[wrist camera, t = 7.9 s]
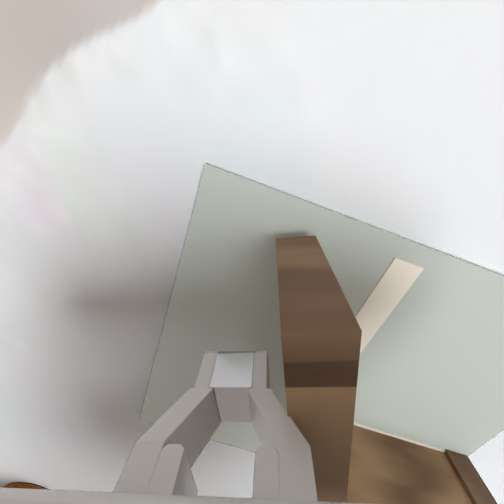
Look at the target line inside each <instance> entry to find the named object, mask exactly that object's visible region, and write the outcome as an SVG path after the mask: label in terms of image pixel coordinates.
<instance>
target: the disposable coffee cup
mask: <svg viewBox="0 0 504 504" xmlns="http://www.w3.org/2000/svg"><path fill="white" fill-rule="evenodd" d="M5 488H23V489H44V488H41V487H38V486H35V485H31V484H27V483H12V484H9V485H7V486H6V487H5Z"/></svg>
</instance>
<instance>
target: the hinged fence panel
mask: <svg viewBox="0 0 504 504" xmlns="http://www.w3.org/2000/svg"><path fill="white" fill-rule="evenodd" d="M276 254H277V272H278V290H279V308H280V326H281V341H282V354H283V367H284V379H285V392H286V405H287V416H290V417H291V418H292V420H293V421H294V423H295V424H296V426H297V427H298V429H299V430H300V432H301V433H302V435H303V436H304V438H305V439H306V441H307V442H308V444H309V445H310V448H311V455H312V462H313V470H314V477H315V484H316V492H317V499H318V501H321V502H344V503H346V501H347V490H348V479H349V468H350V457H351V446H352V435H353V424H354V413H355V402H356V391H357V380H358V368H359V357H360V346H361V335H362V330H361V328H360V326H359V324H358V322H357V320H356V318H355V316H354V314H353V312H352V310H351V308H350V306H349V303H348V301H347V299H346V297H345V295H344V293H343V291H342V289H341V287H340V285H339V283H338V281H337V279H336V277H335V275H334V273H333V270H332V268H331V266H330V264H329V262H328V260H327V258H326V256H325V254H324V252H323V250H322V248H321V246H320V244H319V242H318V240H317V238H316V235H313V236H300V237H287V238H276Z"/></svg>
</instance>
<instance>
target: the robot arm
mask: <svg viewBox="0 0 504 504" xmlns="http://www.w3.org/2000/svg"><path fill="white" fill-rule="evenodd" d="M220 422H252V425H253V427H254V430H255V432H256V434H257V436H258V438H259V440H260V443H261V445H262V446H259V447H258V448H257V450H256V451H255V464H254V481H253V498H230V497H207V496H197V492H198V491H197V488H196V485H195V482H194V478H193V475H192V472H191V469H190V468H191V466H192V465H193V463H194V462H195V460H196V459H197V457H198V456H199V454H200V453H201V451H202V450H203V449H204V447H205V446H206V444H207V443H208V441H209V440H210V438H211V437H212V435H213V434H214V432H215V431H216V429H217V428H218V426H219V425H220ZM0 504H366V503H344V502H321V501H318V499H317V492H316V484H315V477H314V470H313V462H312V455H311V448H310V445H309V444H308V442H307V441H306V439H305V438H304V436H303V435H302V433H301V432H300V430H299V429H298V427H297V426H296V424H295V423H294V421H293V420H292V418H291V417H290V416H287V411H286V409H285V408H284V406H283V405H282V403H281V402H280V400H279V399H278V397H277V396H276V395H275V393H274V392H273V390H272V389H271V388H270V376H269V360H268V351H207V352H206V353H205V354H204V357H203V361H202V364H201V367H200V371H199V374H198V377H197V380H196V384H195V387H194V388H190V389H189V390H188V391H187V392H186V393H185V394H184V395H183V396H182V397H181V398H180V399H179V400H178V401H177V402H176V403H175V404H174V405H173V406H172V407H171V408H169V409H168V410H167V411H166V412H165V413H164V414H163V415H162V416H161V417H160V418H159V419H158V420H157V421H156V422H155V423H154V424H153V425H152V426H151V427H150V428H149V429H148V430H147V431H146V432H145V433H144V434H143V435H142V436H141V437H140V438H139V439H138V440H137V441H136V442H135V444H134V447H133V449H132V451H131V453H130V456H129V458H128V460H127V462H126V464H125V467H124V469H123V471H122V473H121V476H120V478H119V480H118V482H117V485H116V487H115V489H114V491H113V492H92V491H69V490H46V489H23V488H1V487H0Z"/></svg>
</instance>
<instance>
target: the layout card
mask: <svg viewBox="0 0 504 504" xmlns="http://www.w3.org/2000/svg"><path fill="white" fill-rule="evenodd" d="M313 235H316V238H317V240H318V242H319V244H320V246H321V248H322V250H323V252H324V254H325V256H326V258H327V260H328V262H329V264H330V266H331V268H332V270H333V273H334V275H335V277H336V279H337V281H338V283H339V285H340V287H341V289H342V291H343V293H344V295H345V297H346V299H347V301H348V303H349V306H350V308H351V310H352V312H353V314H354V316H355V318H356V320H357V322H358V324H359V326H360V328H361V330H362V335H361V346H360V357H359V368H358V380H357V391H356V402H355V413H354V424H353V425H356V426H359V427H362V428H365V429H369V430H372V431H375V432H379V433H382V434H385V435H388V436H392V437H395V438H398V439H401V440H405V441H408V442H411V443H415V444H418V445H421V446H424V447H428V448H431V449H434V450H438V451H441V452H445V449H447V450H450V451H454V452H457V453H460V454H464V455H467V456H469V455H470V454H471V453H473V452H474V451H475V450H477V449H478V448H480V447H481V446H482V445H484V444H485V443H486V442H488V441H489V440H490V439H492V438H493V437H494V436H496V435H497V434H498V433H500V432H501V431H502V430H504V275H502V274H499V273H496V272H494V271H491V270H488V269H486V268H483V267H480V266H478V265H475V264H473V263H470V262H467V261H465V260H462V259H459V258H457V257H454V256H451V255H449V254H446V253H443V252H441V251H438V250H435V249H433V248H430V247H428V246H425V245H422V244H420V243H417V242H414V241H412V240H409V239H406V238H404V237H401V236H398V235H396V234H393V233H390V232H388V231H385V230H382V229H380V228H377V227H375V226H372V225H369V224H367V223H364V222H361V221H359V220H356V219H353V218H351V217H348V216H345V215H343V214H340V213H337V212H335V211H332V210H329V209H327V208H324V207H322V206H319V205H316V204H314V203H311V202H308V201H306V200H303V199H300V198H298V197H295V196H292V195H290V194H287V193H284V192H282V191H279V190H277V189H274V188H271V187H269V186H266V185H263V184H261V183H258V182H255V181H253V180H250V179H247V178H245V177H242V176H239V175H237V174H234V173H231V172H229V171H226V170H224V169H221V168H218V167H216V166H213V165H210V164H208V163H206V164H205V166H204V169H203V173H202V177H201V181H200V185H199V189H198V193H197V197H196V201H195V204H194V208H193V212H192V216H191V220H190V224H189V228H188V232H187V235H186V239H185V243H184V247H183V251H182V255H181V259H180V263H179V267H178V270H177V274H176V278H175V282H174V286H173V290H172V294H171V298H170V301H169V305H168V309H167V313H166V317H165V321H164V325H163V329H162V333H161V336H160V340H159V344H158V348H157V352H156V356H155V360H154V364H153V367H152V371H151V375H150V379H149V383H148V387H147V391H146V395H145V399H144V402H143V406H142V410H141V414H140V418H139V419H140V420H143V421H147V422H150V423H155V422H156V421H157V420H158V419H159V418H160V417H161V416H162V415H163V414H164V413H165V412H166V411H167V410H168V409H169V408H171V407H172V406H173V405H174V404H175V403H176V402H177V401H178V400H179V399H180V398H181V397H182V396H183V395H184V394H185V393H186V392H187V391H188V390H189V389H190V388H194V387H195V384H196V380H197V377H198V374H199V371H200V367H201V364H202V361H203V357H204V354H205V353H206V352H207V351H268V360H269V376H270V388H271V389H272V390H273V392H274V393H275V395H276V396H277V397H278V399H279V400H280V402H281V403H282V405H283V406H284V408H285V409H286V411H287V405H286V392H285V379H284V367H283V354H282V341H281V326H280V308H279V290H278V272H277V254H276V238H287V237H300V236H313ZM210 440H213V441H217V442H220V443H224V444H227V445H231V446H234V447H238V448H241V449H245V450H248V451H252V452H255V451H256V450H257V448H258V447H259V446H262V445H261V443H260V440H259V438H258V436H257V434H256V432H255V430H254V427H253V425H252V422H220V425H219V426H218V428H217V429H216V431H215V432H214V434H213V435H212V437H211V438H210Z"/></svg>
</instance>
